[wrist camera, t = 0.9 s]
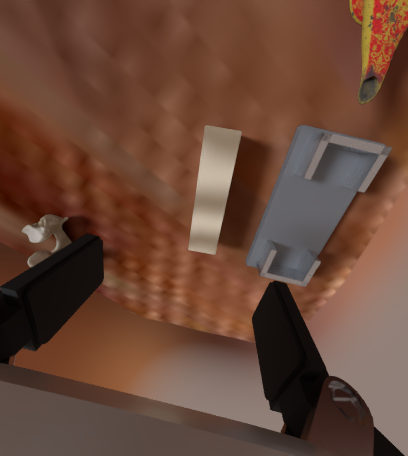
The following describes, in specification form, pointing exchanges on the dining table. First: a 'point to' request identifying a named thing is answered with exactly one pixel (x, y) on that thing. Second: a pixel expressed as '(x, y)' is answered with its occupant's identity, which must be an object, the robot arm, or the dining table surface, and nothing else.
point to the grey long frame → (356, 180)
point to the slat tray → (305, 202)
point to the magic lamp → (378, 39)
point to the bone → (46, 236)
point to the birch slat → (213, 187)
